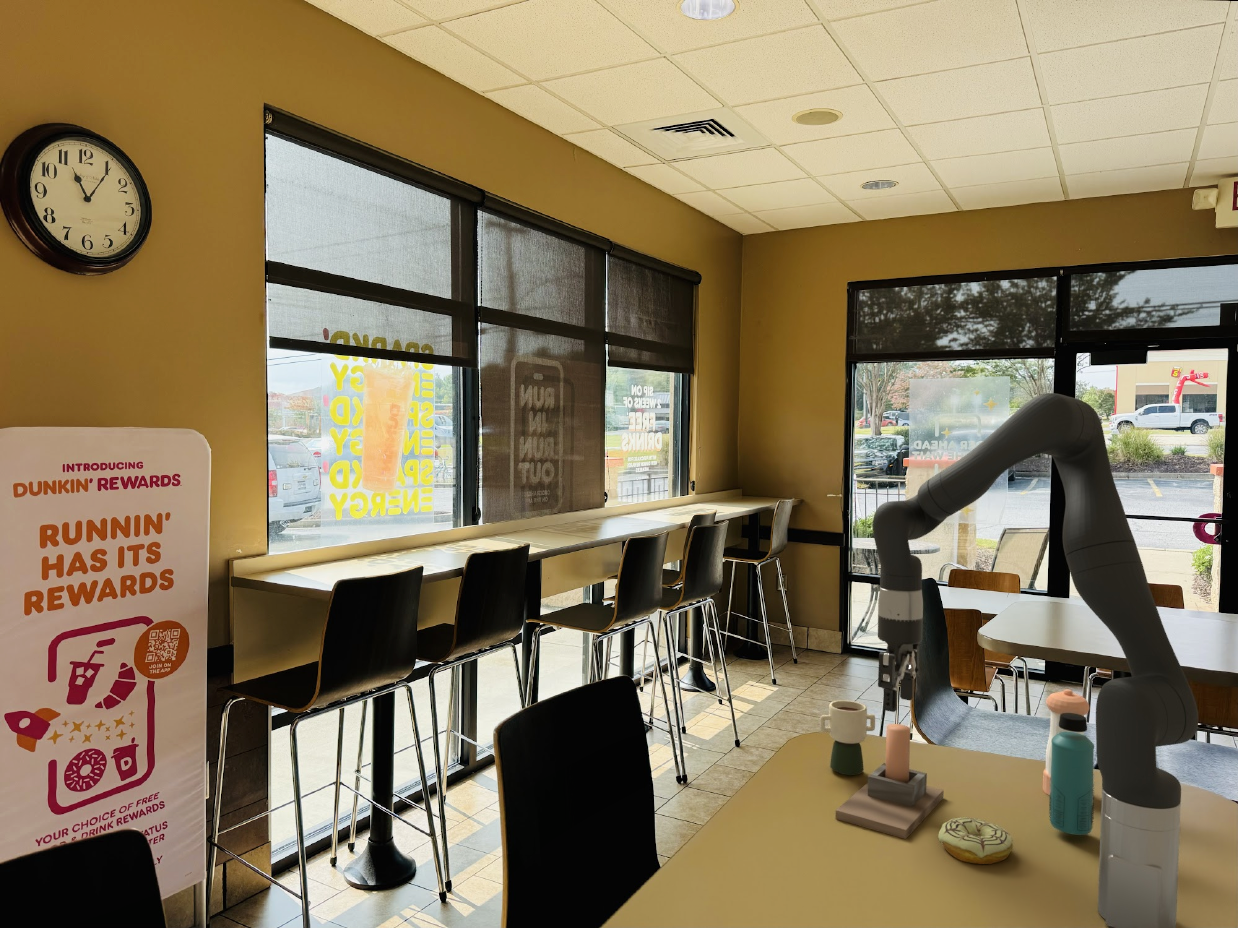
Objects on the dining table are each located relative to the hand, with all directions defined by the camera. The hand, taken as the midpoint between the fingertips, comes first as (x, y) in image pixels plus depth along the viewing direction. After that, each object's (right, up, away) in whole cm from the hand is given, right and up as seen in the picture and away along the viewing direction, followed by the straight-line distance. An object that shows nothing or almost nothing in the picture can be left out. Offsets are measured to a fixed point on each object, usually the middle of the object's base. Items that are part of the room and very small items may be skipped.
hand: (898, 704), depth 158 cm
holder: (-2, -18, -1) cm, 18 cm away
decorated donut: (+7, -19, -17) cm, 26 cm away
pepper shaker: (+32, -18, +6) cm, 37 cm away
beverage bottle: (+25, -19, -11) cm, 33 cm away
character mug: (-5, -17, +15) cm, 23 cm away
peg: (0, -16, +1) cm, 16 cm away
